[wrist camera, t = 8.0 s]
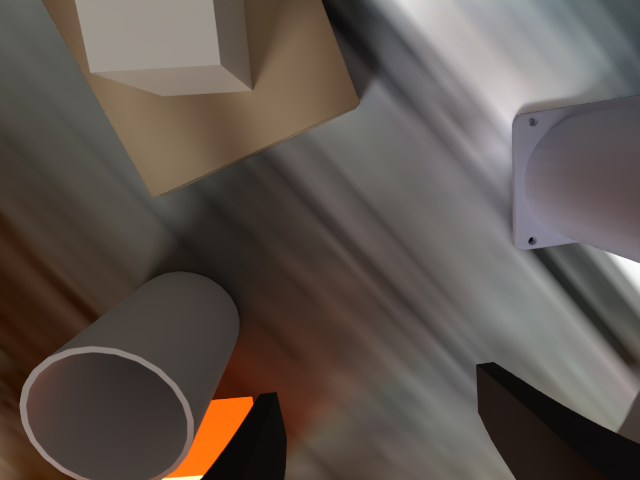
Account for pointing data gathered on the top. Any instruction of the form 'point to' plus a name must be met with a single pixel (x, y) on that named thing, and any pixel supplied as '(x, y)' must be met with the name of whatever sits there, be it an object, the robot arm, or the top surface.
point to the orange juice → (212, 437)
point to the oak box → (226, 96)
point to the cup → (133, 382)
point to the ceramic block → (168, 44)
